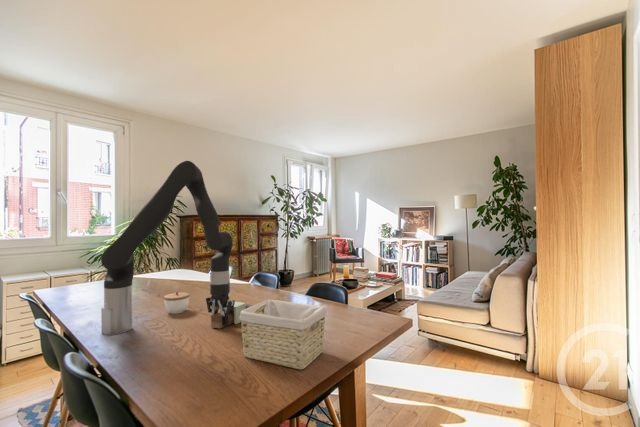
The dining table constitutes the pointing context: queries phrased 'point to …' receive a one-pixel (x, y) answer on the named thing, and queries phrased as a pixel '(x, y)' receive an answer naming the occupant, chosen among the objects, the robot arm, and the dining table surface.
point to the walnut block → (220, 320)
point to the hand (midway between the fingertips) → (220, 324)
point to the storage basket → (283, 332)
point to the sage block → (238, 311)
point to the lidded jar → (176, 302)
